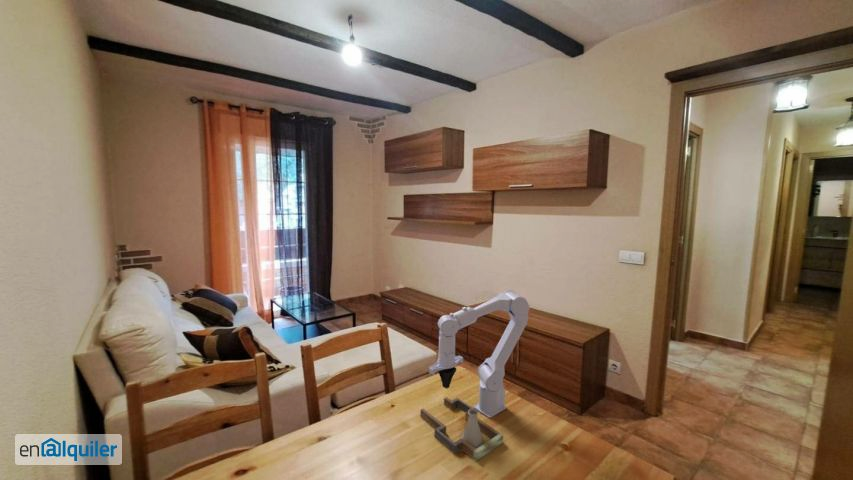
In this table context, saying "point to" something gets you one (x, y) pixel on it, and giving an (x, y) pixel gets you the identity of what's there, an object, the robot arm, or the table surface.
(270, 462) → the table surface
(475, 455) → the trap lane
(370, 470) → the table surface
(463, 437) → the flask
